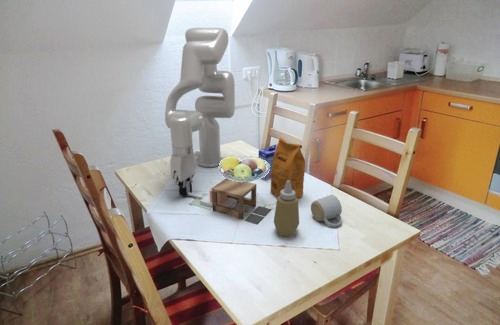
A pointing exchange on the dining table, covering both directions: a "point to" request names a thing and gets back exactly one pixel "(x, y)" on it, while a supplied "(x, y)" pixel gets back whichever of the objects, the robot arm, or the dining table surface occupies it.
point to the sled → (206, 199)
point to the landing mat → (197, 202)
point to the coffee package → (287, 168)
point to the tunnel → (234, 197)
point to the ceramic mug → (327, 209)
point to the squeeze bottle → (286, 211)
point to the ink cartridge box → (268, 158)
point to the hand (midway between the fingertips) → (185, 193)
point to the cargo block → (219, 197)
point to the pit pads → (257, 218)
